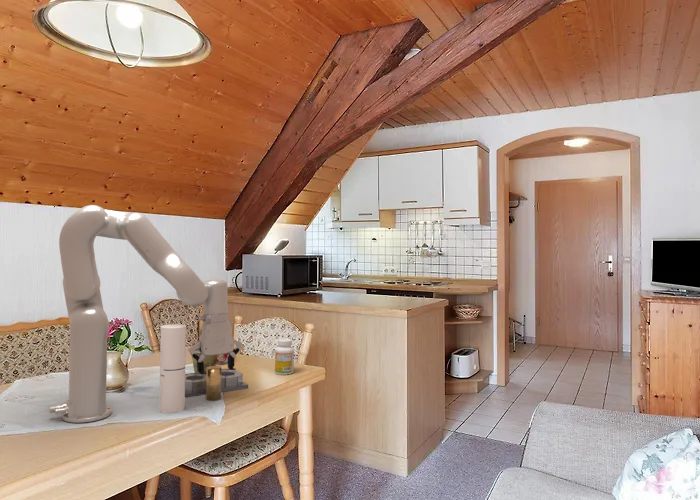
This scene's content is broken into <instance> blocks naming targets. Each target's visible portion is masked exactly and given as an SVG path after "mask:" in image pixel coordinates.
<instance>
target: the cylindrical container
mask: <svg viewBox="0 0 700 500" xmlns="http://www.w3.org/2000/svg"><path fill="white" fill-rule="evenodd" d="M186 340H187V325H185V324H181V323H180V324H179V323H172V324H164V325H160V351H159V353H160V355H159V358H160V360H159V403H158V404H159V405H158V406H159V408H158V409H159V410H160V411H161V412H160V411H159V412H160V413H162V412H164V413H163V414H176V413H180V412H183V411H184V410H185V407H186V406H185V405H186V404H185V402H186V401H185V398H186V397H185V374H186V352H187V351H186V350H187V349H186V348H187V344H186V342H187V341H186ZM182 410H183V411H182Z"/></svg>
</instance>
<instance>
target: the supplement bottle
mask: <svg viewBox="0 0 700 500" xmlns="http://www.w3.org/2000/svg"><path fill="white" fill-rule="evenodd" d="M292 341H293V340H292V339H290V338H280V339H278V341H277V345H278V346H277V347H276V348H275V352H274V353H275V356H274V357H275V359H274V362H275V363H274V372H275V374H276V375H279V376H288V375H287V374H290V375H292V374H293V373H294V368H295V367H294V363H295V361H294V359H295V358H294V357H295V356H294V355H295V348H294V347H293V346H292V344H293V342H292ZM291 373H292V374H291Z"/></svg>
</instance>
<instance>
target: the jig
mask: <svg viewBox="0 0 700 500" xmlns="http://www.w3.org/2000/svg"><path fill="white" fill-rule="evenodd" d="M206 375H207V371H205V372H204V374H203V375H201V374H200V373H199V372H197V373H194V372H190V373H185V398H191V397H198V396H203V395H205V396H206ZM243 377H244V375H243V372H242V371H240V370H237V369H236V368H235V367H233V370H230V369H229V368H224V369H222V368H221V393H224V392H225V393H226V392H231V391H232V392H234V391H237V390H246V389H249V384H247V383H246V382H244V379H243Z"/></svg>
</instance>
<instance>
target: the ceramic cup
mask: <svg viewBox="0 0 700 500" xmlns="http://www.w3.org/2000/svg"><path fill="white" fill-rule="evenodd" d="M195 353H196V355H197V356H198V354H199V353H200V352H199V348H198V349H196V350H195ZM222 355H223V359H224V357H225V356H224V354H222ZM217 357H218V355H212V356H205V358H204V359H203V360H202V361H203V362H204V372H205V371H207V367H210V366H218V365H219V364H218V363H219V362H221V361H222V360H223V359H222V360H220V361H219V362H218V363H217V364H216V362H217ZM191 360H192V366H193V371H194V372H193V373H197V372H198V371H197V360H196V359H194V358H193V357H192V356H191Z"/></svg>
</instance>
